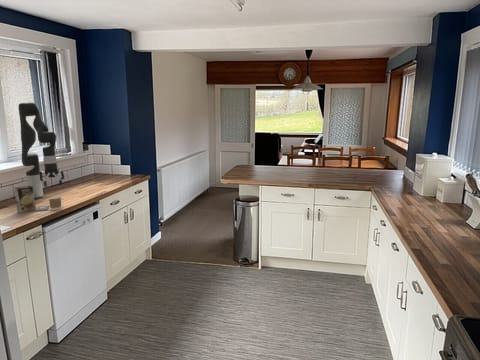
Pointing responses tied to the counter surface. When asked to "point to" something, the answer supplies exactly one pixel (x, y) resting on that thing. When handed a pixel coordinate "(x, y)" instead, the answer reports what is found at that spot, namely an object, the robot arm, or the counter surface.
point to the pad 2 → (56, 207)
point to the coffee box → (25, 199)
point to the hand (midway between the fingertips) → (53, 186)
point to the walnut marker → (55, 202)
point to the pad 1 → (42, 208)
